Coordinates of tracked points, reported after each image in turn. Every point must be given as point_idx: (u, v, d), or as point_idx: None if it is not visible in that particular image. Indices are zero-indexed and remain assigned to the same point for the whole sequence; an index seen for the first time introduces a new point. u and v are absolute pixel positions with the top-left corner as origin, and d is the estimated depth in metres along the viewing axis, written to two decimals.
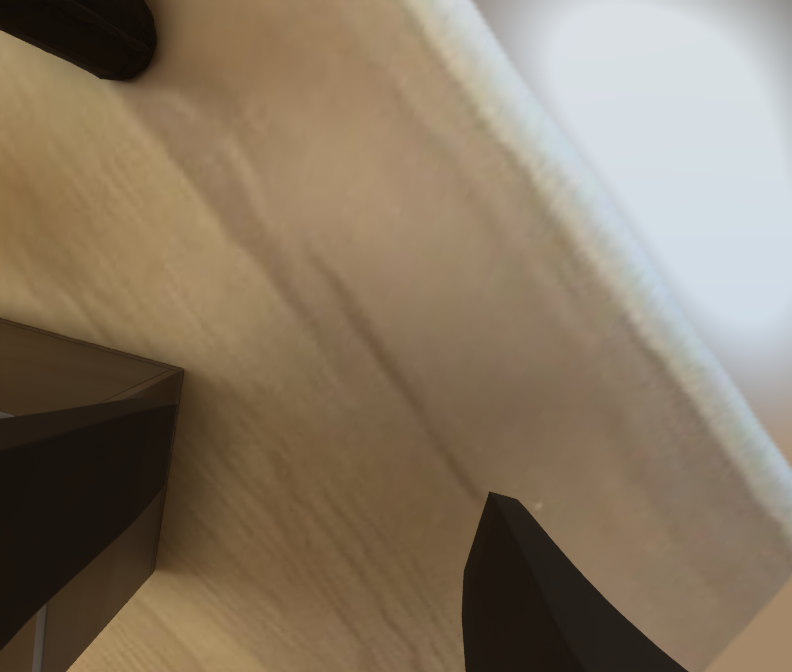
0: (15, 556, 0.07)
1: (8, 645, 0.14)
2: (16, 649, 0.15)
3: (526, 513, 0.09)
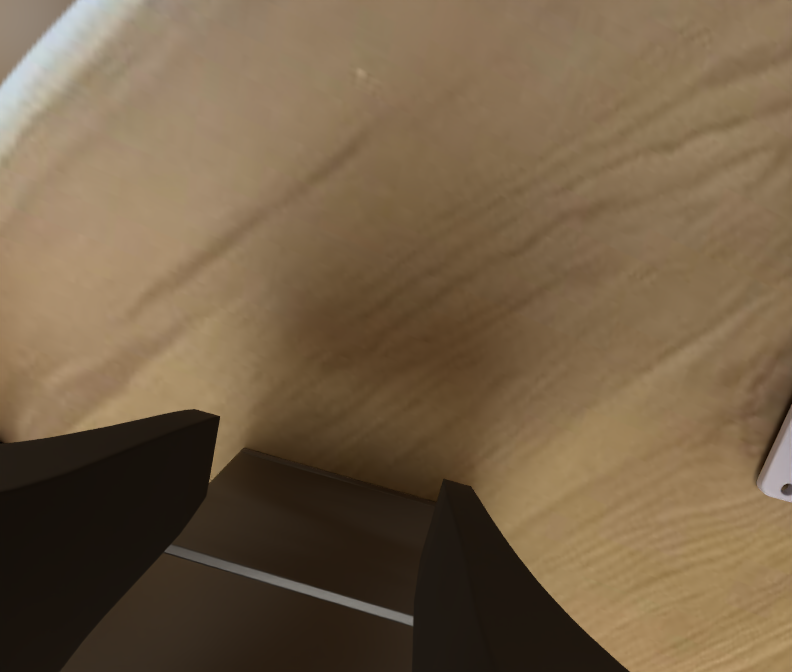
0: (78, 575, 0.07)
1: (323, 630, 0.13)
2: (345, 627, 0.14)
3: (475, 499, 0.09)
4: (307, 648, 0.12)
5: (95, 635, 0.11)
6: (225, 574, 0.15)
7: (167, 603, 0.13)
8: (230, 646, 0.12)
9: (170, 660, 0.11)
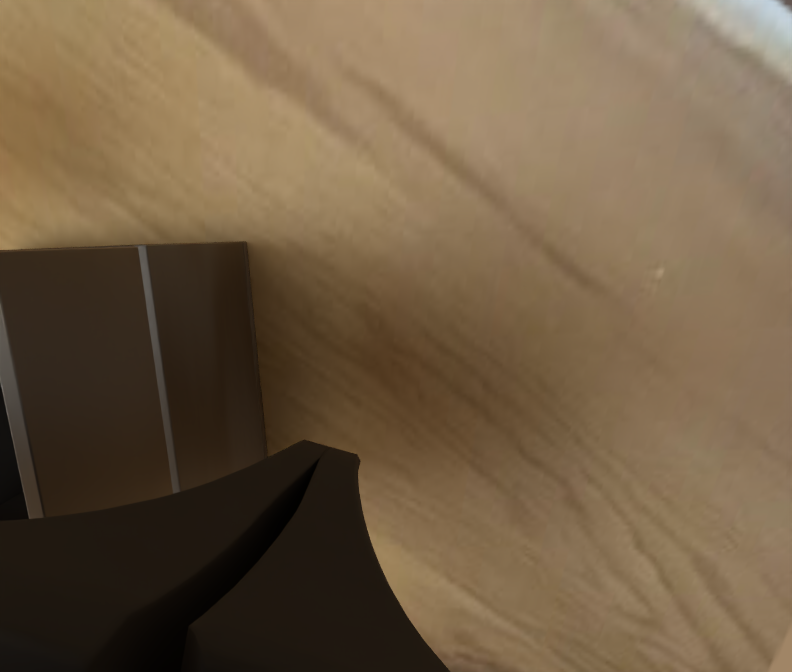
0: None
1: (148, 477, 0.13)
2: (157, 490, 0.13)
3: (349, 463, 0.09)
4: (133, 484, 0.12)
5: (60, 306, 0.10)
6: (150, 346, 0.13)
7: (109, 330, 0.11)
8: (107, 428, 0.11)
9: (75, 395, 0.10)
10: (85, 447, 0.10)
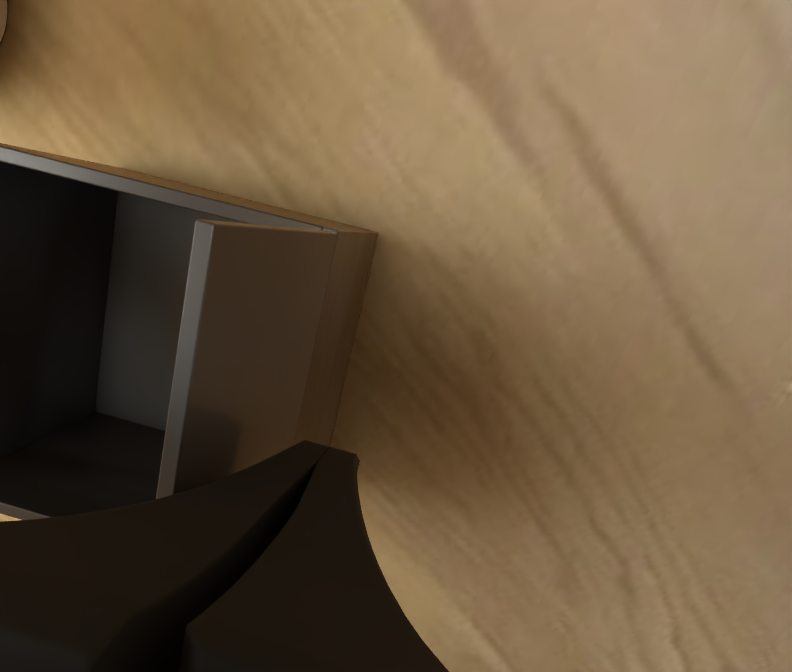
0: None
1: None
2: None
3: (349, 463, 0.09)
4: None
5: (256, 294, 0.08)
6: (312, 344, 0.12)
7: (287, 325, 0.10)
8: (251, 434, 0.09)
9: (236, 399, 0.08)
10: (226, 457, 0.09)
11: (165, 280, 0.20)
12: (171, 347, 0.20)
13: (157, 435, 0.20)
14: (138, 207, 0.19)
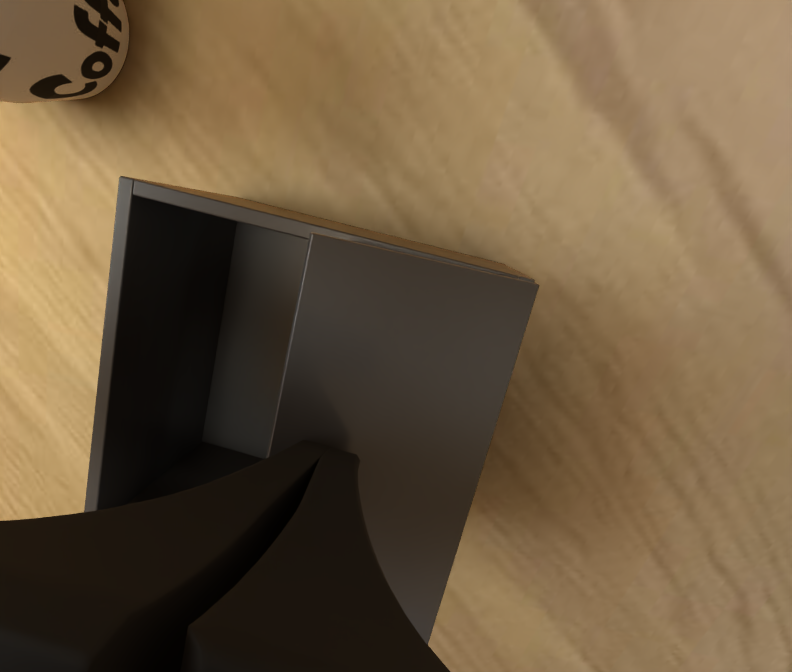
0: None
1: (421, 513, 0.12)
2: (429, 533, 0.12)
3: (349, 463, 0.09)
4: (391, 503, 0.12)
5: (374, 302, 0.10)
6: (499, 394, 0.12)
7: (436, 350, 0.11)
8: (381, 433, 0.11)
9: (353, 386, 0.10)
10: (342, 433, 0.11)
11: (282, 311, 0.19)
12: None
13: None
14: (258, 237, 0.19)
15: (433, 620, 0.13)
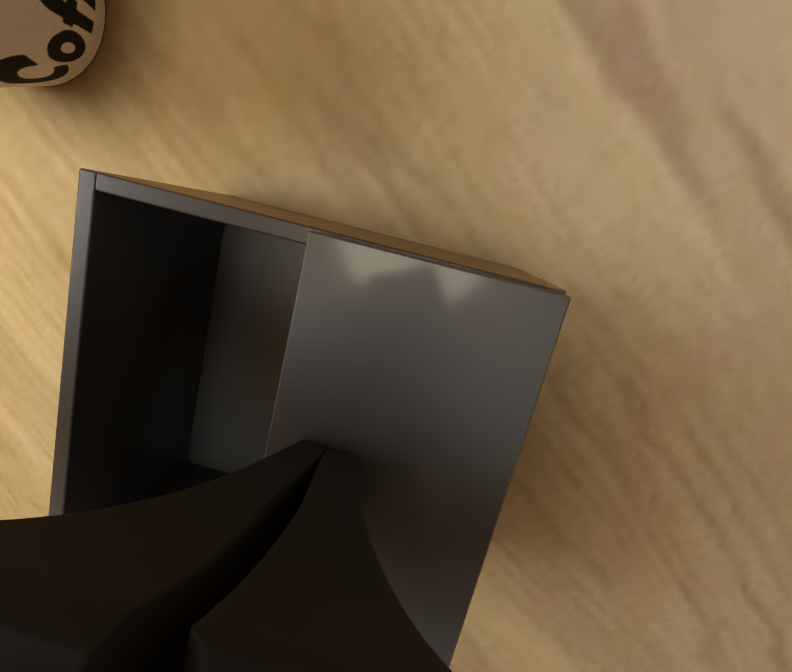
0: None
1: (425, 547, 0.11)
2: (435, 574, 0.11)
3: (350, 464, 0.09)
4: (391, 527, 0.11)
5: (371, 304, 0.10)
6: (520, 423, 0.10)
7: (441, 363, 0.10)
8: (379, 446, 0.10)
9: (349, 389, 0.10)
10: (338, 438, 0.10)
11: (274, 320, 0.18)
12: None
13: None
14: (247, 239, 0.17)
15: None
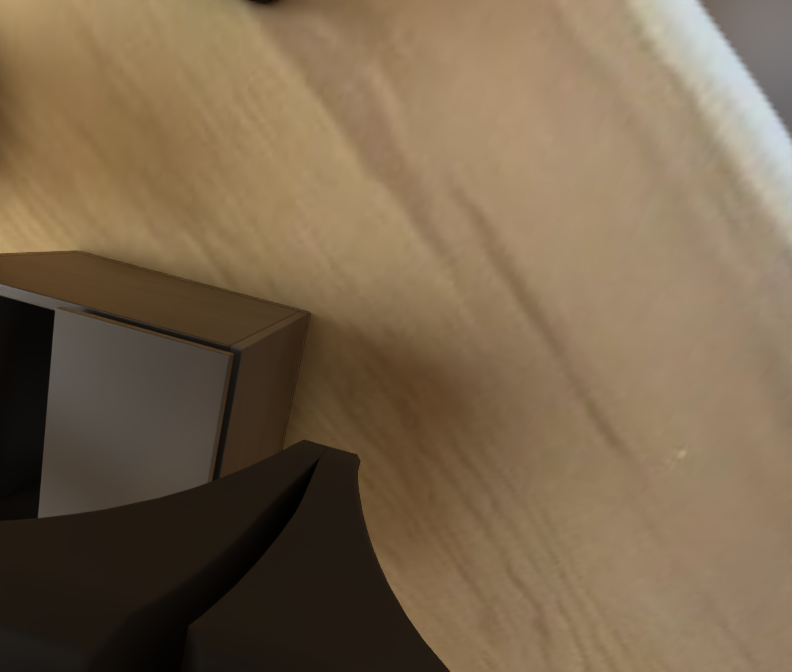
0: None
1: None
2: None
3: (349, 463, 0.09)
4: None
5: (100, 358, 0.14)
6: (209, 442, 0.14)
7: (151, 399, 0.14)
8: (117, 458, 0.14)
9: (93, 417, 0.14)
10: (89, 451, 0.14)
11: None
12: None
13: None
14: None
15: None
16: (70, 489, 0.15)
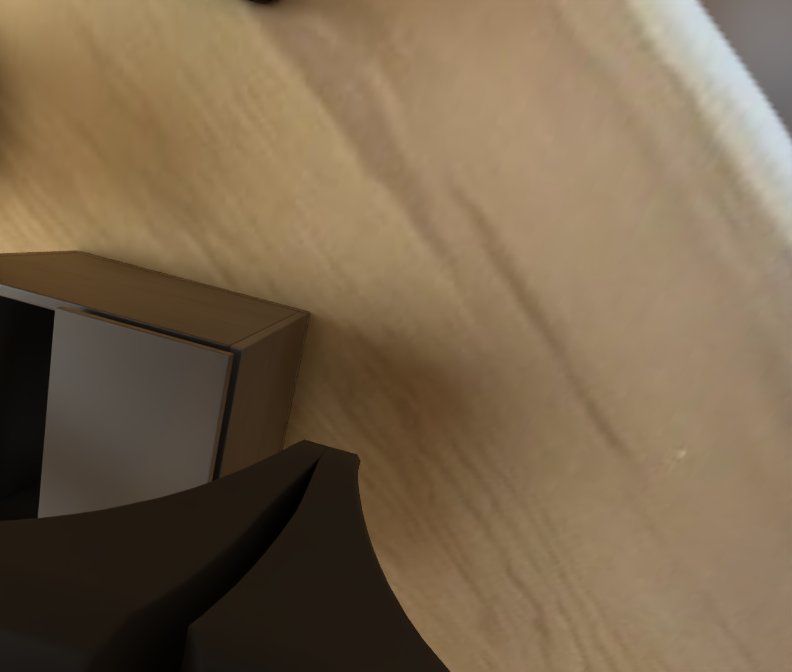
0: None
1: None
2: None
3: (349, 463, 0.09)
4: None
5: (100, 358, 0.14)
6: (208, 442, 0.14)
7: (151, 399, 0.14)
8: (117, 458, 0.14)
9: (93, 417, 0.14)
10: (89, 452, 0.14)
11: None
12: None
13: None
14: None
15: None
16: (70, 489, 0.15)
